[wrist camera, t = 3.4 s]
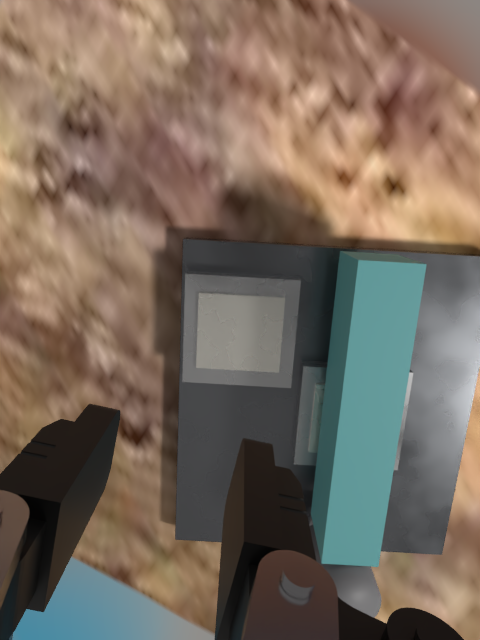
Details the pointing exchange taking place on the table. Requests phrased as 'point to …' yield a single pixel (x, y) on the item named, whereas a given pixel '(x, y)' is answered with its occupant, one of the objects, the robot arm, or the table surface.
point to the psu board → (313, 379)
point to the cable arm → (363, 416)
